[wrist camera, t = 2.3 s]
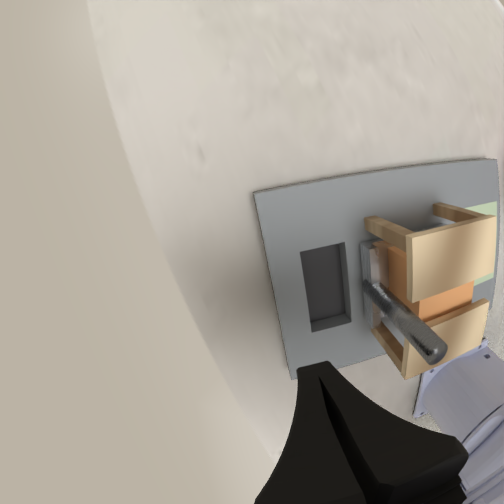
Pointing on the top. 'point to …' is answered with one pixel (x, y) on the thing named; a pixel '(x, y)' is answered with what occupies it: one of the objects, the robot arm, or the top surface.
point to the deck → (355, 248)
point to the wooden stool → (441, 279)
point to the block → (428, 306)
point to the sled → (395, 302)
